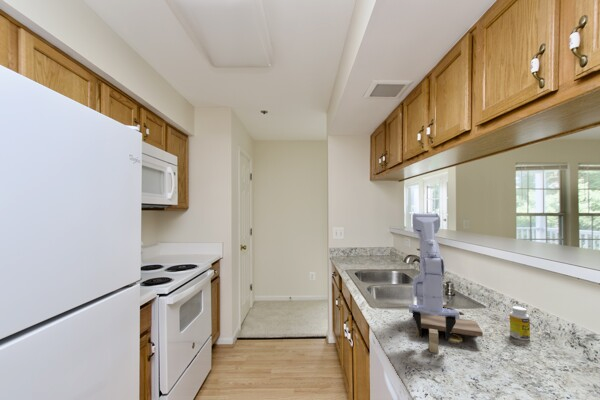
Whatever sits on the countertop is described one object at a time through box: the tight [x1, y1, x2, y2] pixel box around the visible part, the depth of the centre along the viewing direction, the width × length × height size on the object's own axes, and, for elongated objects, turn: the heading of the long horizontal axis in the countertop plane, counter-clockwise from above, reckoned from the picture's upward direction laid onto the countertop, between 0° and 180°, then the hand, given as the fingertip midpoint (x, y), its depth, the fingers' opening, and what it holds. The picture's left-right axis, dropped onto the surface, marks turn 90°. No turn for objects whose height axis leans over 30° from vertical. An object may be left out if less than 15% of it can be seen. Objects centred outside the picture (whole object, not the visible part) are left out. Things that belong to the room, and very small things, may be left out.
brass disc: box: [449, 333, 463, 344], centre depth 95 cm, size 5×5×1 cm
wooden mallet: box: [428, 329, 440, 354], centre depth 92 cm, size 13×3×6 cm, turn 158°
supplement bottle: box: [509, 306, 531, 341], centre depth 97 cm, size 6×6×10 cm
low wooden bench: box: [415, 314, 484, 339], centre depth 97 cm, size 10×20×5 cm, turn 68°
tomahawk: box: [443, 305, 465, 316], centre depth 128 cm, size 20×7×1 cm, turn 21°
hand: (433, 337), depth 87 cm, fingers open, 7 cm apart
